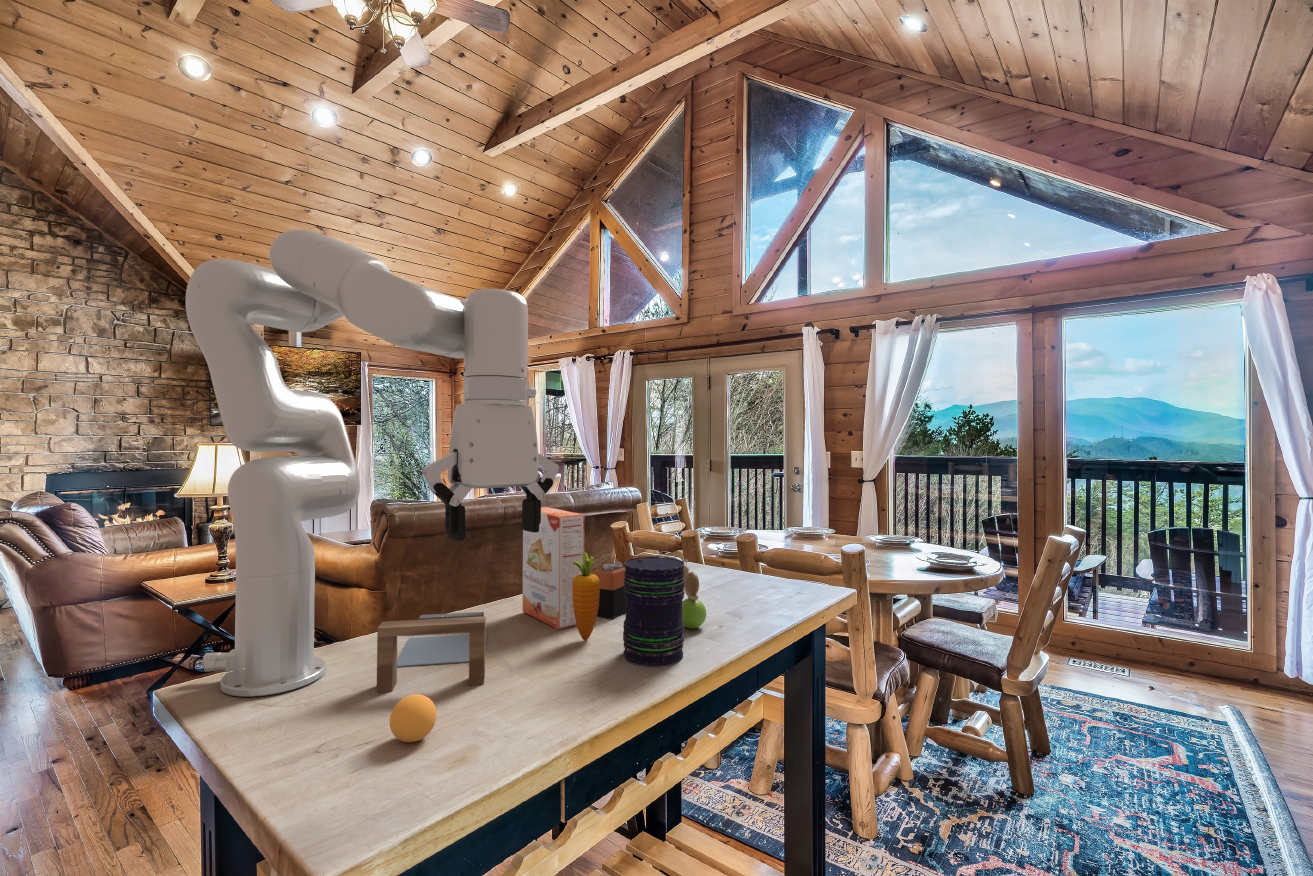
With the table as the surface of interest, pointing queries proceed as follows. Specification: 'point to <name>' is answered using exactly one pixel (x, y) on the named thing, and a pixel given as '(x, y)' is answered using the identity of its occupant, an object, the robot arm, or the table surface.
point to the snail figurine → (692, 601)
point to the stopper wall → (451, 615)
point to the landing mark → (435, 650)
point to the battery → (611, 590)
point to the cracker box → (552, 566)
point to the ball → (413, 718)
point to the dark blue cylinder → (653, 611)
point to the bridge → (428, 626)
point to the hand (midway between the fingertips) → (495, 535)
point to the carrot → (585, 597)
